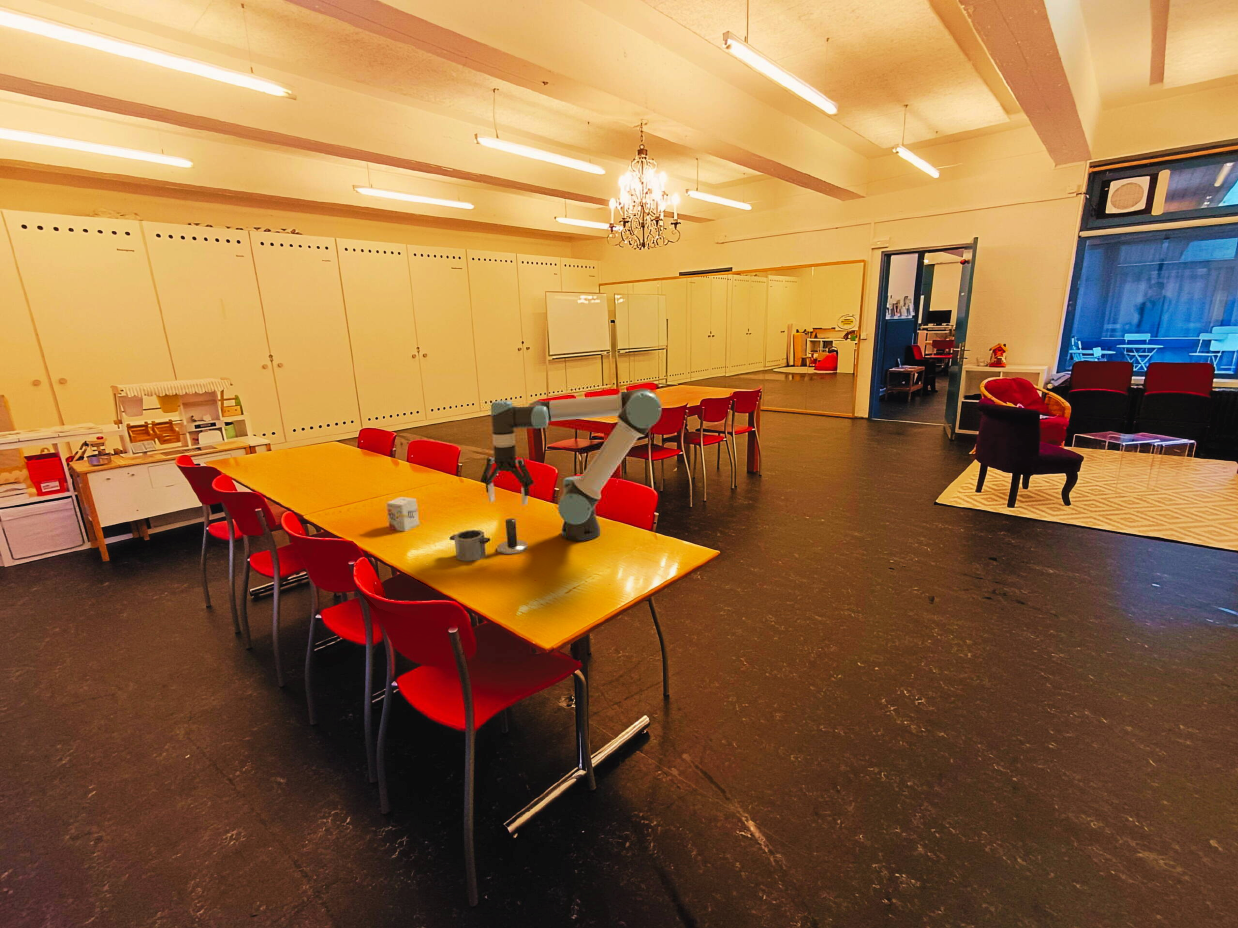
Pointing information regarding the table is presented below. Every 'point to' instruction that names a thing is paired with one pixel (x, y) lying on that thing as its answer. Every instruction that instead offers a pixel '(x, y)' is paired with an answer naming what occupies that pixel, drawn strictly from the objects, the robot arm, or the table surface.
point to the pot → (470, 545)
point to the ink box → (402, 514)
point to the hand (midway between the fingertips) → (508, 502)
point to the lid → (512, 540)
